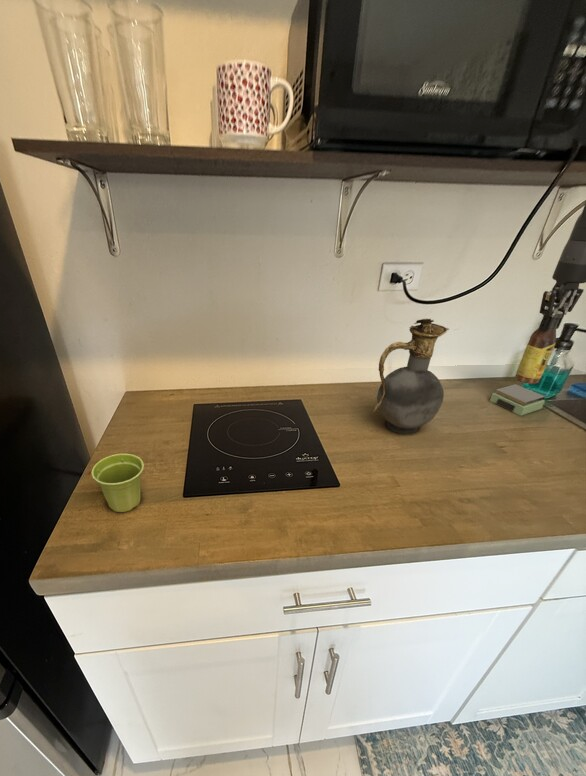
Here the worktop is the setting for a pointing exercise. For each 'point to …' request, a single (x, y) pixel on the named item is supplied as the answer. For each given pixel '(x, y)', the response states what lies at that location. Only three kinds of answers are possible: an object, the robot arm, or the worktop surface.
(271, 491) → the worktop surface
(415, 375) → the pitcher
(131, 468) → the plant pot
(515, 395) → the scale platform
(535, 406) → the scale
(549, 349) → the sauce bottle
